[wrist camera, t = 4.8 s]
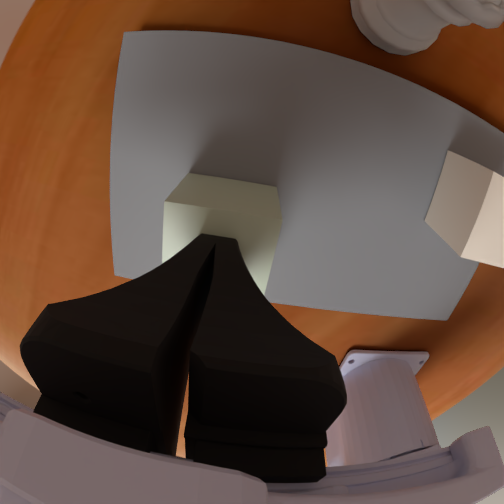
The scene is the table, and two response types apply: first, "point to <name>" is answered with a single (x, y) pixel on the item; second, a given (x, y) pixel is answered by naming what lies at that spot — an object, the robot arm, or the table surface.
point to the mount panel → (296, 164)
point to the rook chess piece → (420, 20)
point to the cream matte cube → (469, 210)
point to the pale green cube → (225, 219)
